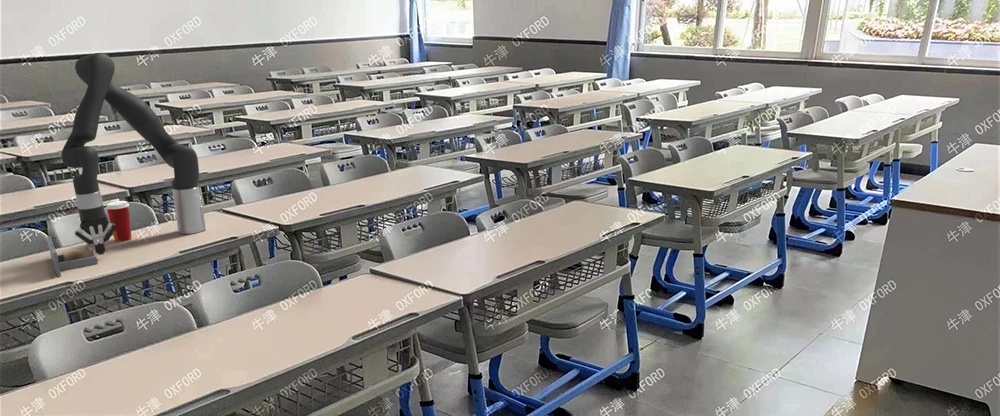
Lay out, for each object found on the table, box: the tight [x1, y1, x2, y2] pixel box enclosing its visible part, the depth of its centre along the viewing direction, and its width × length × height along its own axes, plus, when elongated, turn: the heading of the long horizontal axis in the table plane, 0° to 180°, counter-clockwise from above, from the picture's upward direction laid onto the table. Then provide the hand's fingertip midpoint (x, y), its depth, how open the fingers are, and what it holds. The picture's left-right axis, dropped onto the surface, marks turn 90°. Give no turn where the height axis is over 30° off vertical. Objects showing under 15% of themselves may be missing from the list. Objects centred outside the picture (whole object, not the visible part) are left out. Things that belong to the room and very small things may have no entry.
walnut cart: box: [62, 242, 94, 262], centre depth 237 cm, size 8×6×6 cm
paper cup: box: [105, 200, 132, 243], centre depth 261 cm, size 8×8×14 cm
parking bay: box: [46, 235, 98, 278], centre depth 235 cm, size 12×24×8 cm, turn 36°
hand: (101, 253), depth 241 cm, fingers closed
